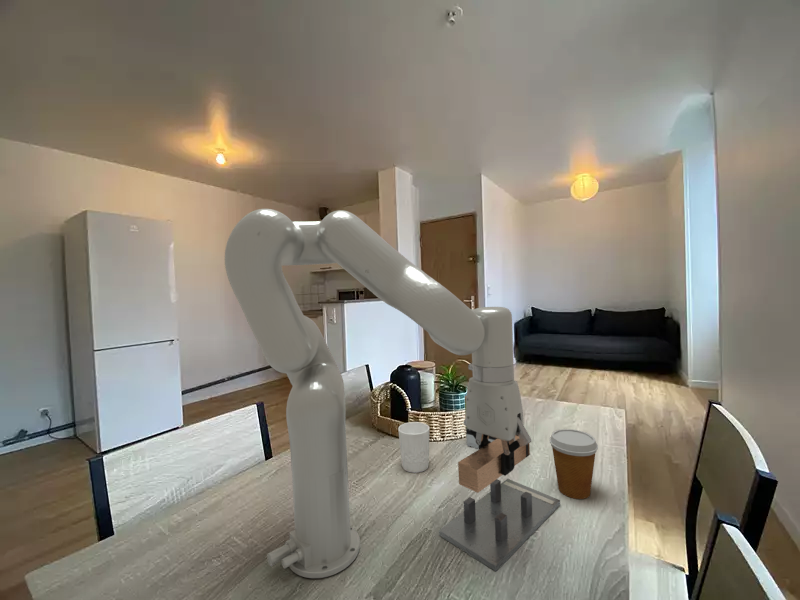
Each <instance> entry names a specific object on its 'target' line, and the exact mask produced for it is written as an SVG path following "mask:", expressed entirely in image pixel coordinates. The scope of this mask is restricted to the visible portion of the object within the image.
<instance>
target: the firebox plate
mask: <svg viewBox="0 0 800 600" xmlns="http://www.w3.org/2000/svg"><path fill="white" fill-rule="evenodd" d="M489 487H490V488H489V490H490V491H489V492H488V493H486V494H485V495H484V496H482V497H481V498H480V499H478V500H477V501H476V499H475V498H473V497H468V498H466V499H465V500H463V511H462V512H461V513H460V514H459V515H457V516H456V517H454V518H453V519H452V520H451V521H450V520H449V522H448V523H446V524H445V525H443V526H442V527H441V528H440V529H439V530H438V536H440V537H441V538H442V539H444V540H445V541H447V542H449V543H451V544H452V545H453V546H455V547H457V548H458V549H460V550H461V551H463V552H464V553H466V554H468V556H470V557H472V558H474V559H475V560H476V561H478V562H480V563H482V565H485V566H486V567H488V568H489V569H491V570H492V571H494V572H497V571H498V570H499V569H500V568H501V567H502V566H503V565H504V564H505V563H506V562H508V560H509V559H510V558H511V557H512V556H513V555H514V554H515V553H516V552H517V551H518V550H519V549H520V548H521V547H522V545H523V544H524V543H525V542H526V541H527V540H528V539H529V538H530V537H531V536H533V534H534V533H535V532H536V531H537V530H538V529H539V528H540V526H542V525H543V523H544V522H545V521H546V520H547V519H548V518H550V516H551V515H552V514H553V513H554V512H555V511H556V510H557V509H558V508H559V507H560V506H561V500H560V499H559V498H555V497H553V496H550V495H548V494H545V493H544V492H542V491H538V490H536V489H534V488H532V487H529V486H527V485H524V484H522V483H519V482H517V481H515V480H512V479H509V478H506V479H505V480H504V481H502V483H501V480H499V478H498V479H496V480H495V481H494V482H492V483H491V484H489Z"/></svg>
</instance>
